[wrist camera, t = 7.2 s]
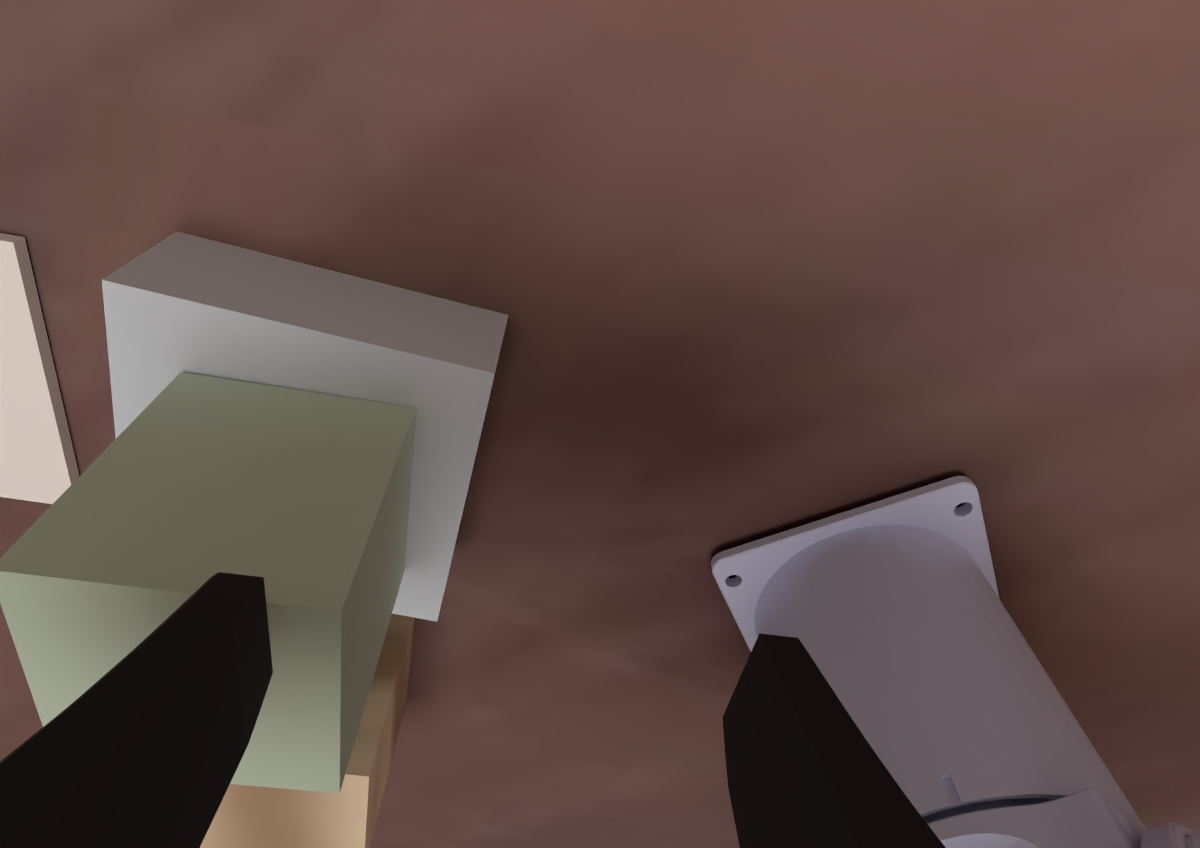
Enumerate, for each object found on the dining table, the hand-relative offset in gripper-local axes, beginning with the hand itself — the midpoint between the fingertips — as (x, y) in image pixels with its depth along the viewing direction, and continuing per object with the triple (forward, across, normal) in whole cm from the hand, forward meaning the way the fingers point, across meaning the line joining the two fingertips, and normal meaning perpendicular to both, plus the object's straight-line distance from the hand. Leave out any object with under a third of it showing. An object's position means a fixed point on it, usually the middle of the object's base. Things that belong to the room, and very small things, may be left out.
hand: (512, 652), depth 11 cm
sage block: (+7, +5, +3) cm, 9 cm away
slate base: (+10, +5, +3) cm, 12 cm away
